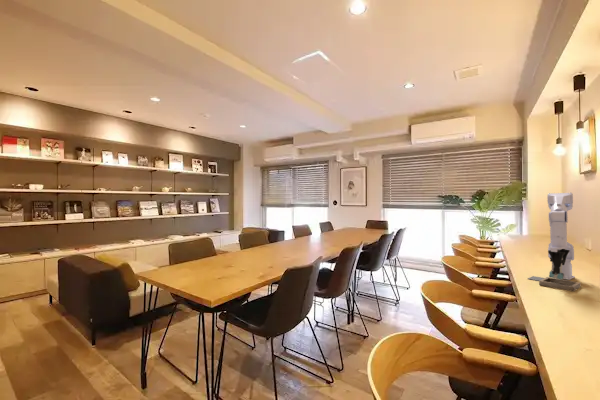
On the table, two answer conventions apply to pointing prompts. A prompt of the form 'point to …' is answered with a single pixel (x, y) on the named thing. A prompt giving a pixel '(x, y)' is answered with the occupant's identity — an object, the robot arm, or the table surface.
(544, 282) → the frame
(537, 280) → the mat
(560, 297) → the table surface
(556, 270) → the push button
